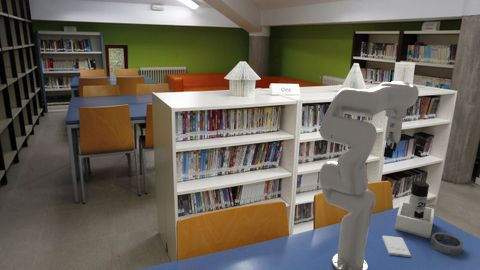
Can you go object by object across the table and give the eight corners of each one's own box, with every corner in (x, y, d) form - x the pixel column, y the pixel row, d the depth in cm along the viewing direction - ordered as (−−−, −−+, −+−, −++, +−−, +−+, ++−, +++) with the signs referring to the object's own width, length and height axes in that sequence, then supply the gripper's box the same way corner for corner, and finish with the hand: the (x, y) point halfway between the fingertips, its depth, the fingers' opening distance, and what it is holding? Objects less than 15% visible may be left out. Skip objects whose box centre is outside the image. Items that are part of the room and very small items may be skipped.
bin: (429, 238, 151) (432, 224, 149) (394, 229, 157) (396, 215, 156) (431, 222, 164) (434, 208, 162) (399, 214, 171) (401, 201, 169)
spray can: (412, 228, 156) (419, 187, 151) (402, 221, 163) (409, 180, 157) (425, 227, 158) (433, 186, 152) (415, 219, 164) (422, 179, 159)
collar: (461, 257, 138) (463, 251, 137) (429, 248, 143) (431, 242, 143) (461, 244, 147) (462, 237, 147) (431, 236, 153) (432, 229, 152)
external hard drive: (402, 240, 150) (410, 258, 138) (381, 238, 151) (388, 255, 139) (402, 237, 149) (411, 254, 138) (382, 235, 151) (389, 252, 139)
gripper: (403, 118, 131) (396, 161, 135) (408, 110, 145) (402, 150, 150) (382, 115, 134) (376, 158, 139) (388, 108, 149) (383, 146, 153)
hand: (389, 153), depth 144 cm, fingers open, 9 cm apart
